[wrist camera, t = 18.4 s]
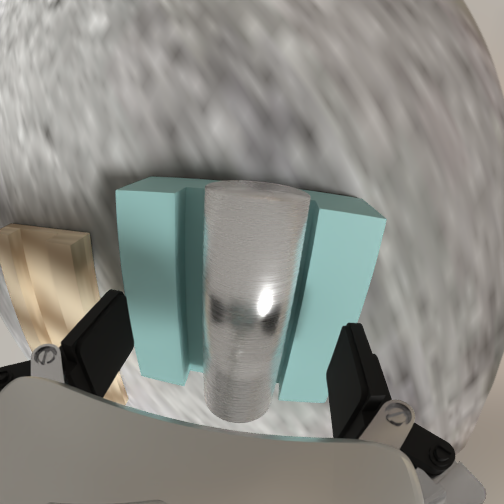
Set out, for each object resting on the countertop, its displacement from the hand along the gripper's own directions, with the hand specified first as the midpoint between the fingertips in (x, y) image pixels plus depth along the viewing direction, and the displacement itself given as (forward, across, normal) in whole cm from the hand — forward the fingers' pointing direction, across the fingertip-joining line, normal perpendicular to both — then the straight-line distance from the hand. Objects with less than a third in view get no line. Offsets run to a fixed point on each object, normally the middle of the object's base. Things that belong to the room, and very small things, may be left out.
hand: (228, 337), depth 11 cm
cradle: (+6, 0, +1) cm, 6 cm away
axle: (+4, 0, 0) cm, 4 cm away
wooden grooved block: (+6, +16, +8) cm, 19 cm away
